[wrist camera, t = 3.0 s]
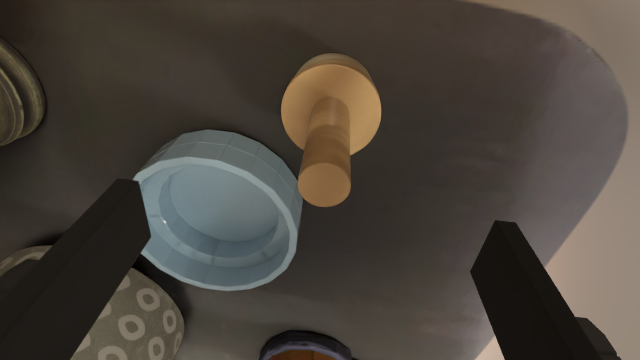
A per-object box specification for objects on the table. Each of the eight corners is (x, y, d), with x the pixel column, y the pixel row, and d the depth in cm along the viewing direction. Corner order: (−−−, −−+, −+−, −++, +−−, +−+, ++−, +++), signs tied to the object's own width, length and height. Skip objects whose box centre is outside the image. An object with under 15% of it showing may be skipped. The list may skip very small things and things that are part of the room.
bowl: (309, 136, 27) (302, 170, 23) (298, 256, 35) (291, 298, 30) (139, 116, 27) (102, 146, 23) (164, 241, 35) (139, 281, 30)
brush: (385, 55, 24) (412, 129, 14) (368, 140, 27) (380, 246, 18) (290, 44, 24) (252, 111, 14) (286, 131, 27) (253, 231, 18)
